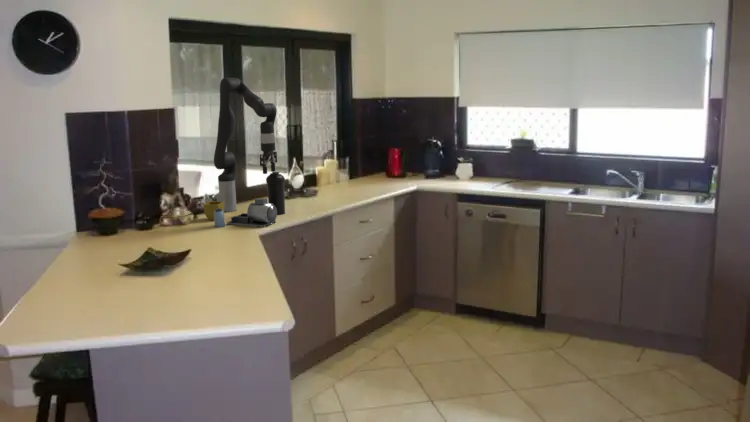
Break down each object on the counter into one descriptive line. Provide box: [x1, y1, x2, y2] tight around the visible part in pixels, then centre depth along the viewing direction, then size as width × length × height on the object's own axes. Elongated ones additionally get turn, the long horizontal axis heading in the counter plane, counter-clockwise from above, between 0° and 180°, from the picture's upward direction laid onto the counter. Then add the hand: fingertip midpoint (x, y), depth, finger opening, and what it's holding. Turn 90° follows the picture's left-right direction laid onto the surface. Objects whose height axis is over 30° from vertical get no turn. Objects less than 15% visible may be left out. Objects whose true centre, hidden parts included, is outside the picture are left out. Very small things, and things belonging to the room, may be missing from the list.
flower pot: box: [202, 200, 224, 221], centre depth 375 cm, size 9×9×9 cm
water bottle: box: [265, 171, 286, 216], centre depth 385 cm, size 10×10×23 cm
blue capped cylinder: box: [213, 208, 226, 228], centre depth 358 cm, size 5×5×9 cm
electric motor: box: [226, 197, 278, 227], centre depth 362 cm, size 24×12×13 cm, turn 67°
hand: (269, 172), depth 369 cm, fingers open, 8 cm apart
